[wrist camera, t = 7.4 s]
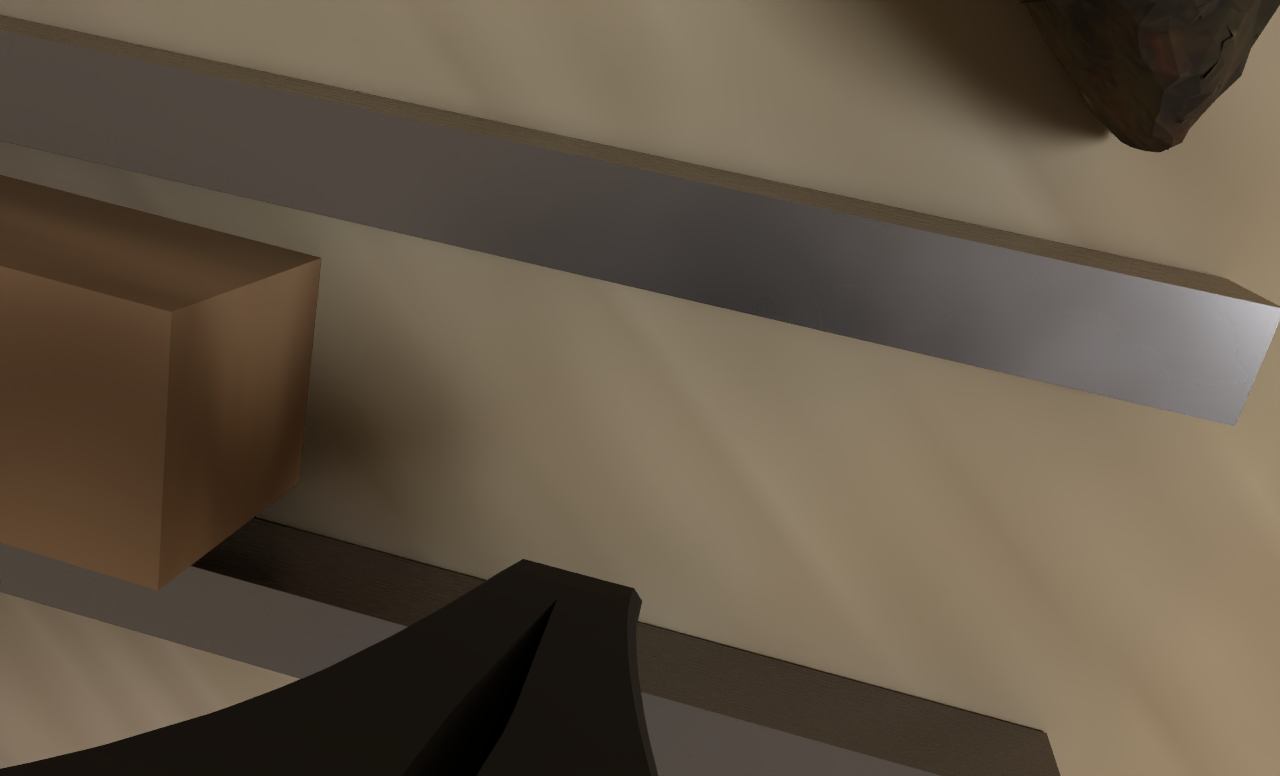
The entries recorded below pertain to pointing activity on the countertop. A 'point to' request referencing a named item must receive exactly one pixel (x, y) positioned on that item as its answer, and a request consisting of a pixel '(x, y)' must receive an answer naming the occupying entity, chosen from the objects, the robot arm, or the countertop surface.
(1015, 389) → the countertop surface
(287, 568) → the slot rails
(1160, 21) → the brown wooden log
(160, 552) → the long wooden beam
